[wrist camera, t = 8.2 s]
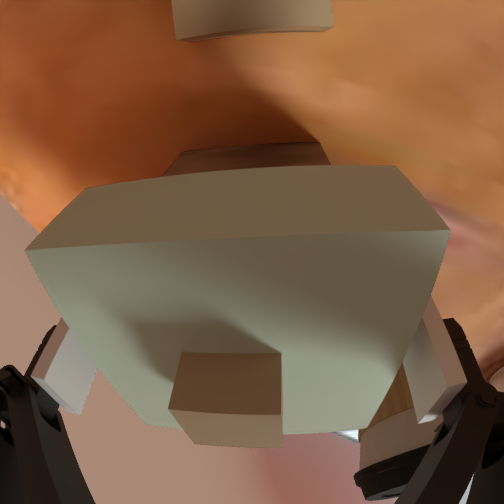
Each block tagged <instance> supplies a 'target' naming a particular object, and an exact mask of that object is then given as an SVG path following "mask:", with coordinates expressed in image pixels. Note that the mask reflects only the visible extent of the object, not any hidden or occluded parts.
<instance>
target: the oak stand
mask: <svg viewBox="0 0 504 504" xmlns="http://www.w3.org/2000/svg"><path fill="white" fill-rule="evenodd" d="M171 6H172V14H173V23H174V31H175V38H176V40H180V41H187V42H196V41H202V40H208V39H215V38H222V37H230V36H239V35H249V34H261V33H277V32H324V31H326V30H328V29H330V28H332V27H334V25H333V14H332V4H331V0H171Z"/></svg>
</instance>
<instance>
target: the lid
mask: <svg viewBox="0 0 504 504" xmlns="http://www.w3.org/2000/svg"><path fill="white" fill-rule="evenodd" d="M450 232H451V230H450V229H449V227H448V226H447V225H446V223H445V222H444V221H443V220H442V218H441V217H440V216H439V215H438V213H437V212H436V211H435V210H434V209H433V207H432V206H431V205H430V204H429V203H428V201H427V200H426V199H425V198H424V197H423V196H422V194H421V193H420V192H419V191H418V190H417V189H416V188H415V186H414V185H413V184H412V183H411V182H410V181H409V180H408V179H407V178H406V177H405V175H404V174H403V173H402V172H401V171H400V170H399V169H398V168H397V167H396V166H390V165H313V166H285V167H265V168H249V169H235V170H223V171H211V172H201V173H191V174H182V175H173V176H164V177H156V178H149V179H141V180H134V181H127V182H121V183H114V184H108V185H102V186H96V187H90V188H86V189H85V190H84V191H82V192H81V193H80V194H79V195H78V196H77V197H76V198H75V199H74V200H73V201H72V202H71V203H70V204H69V205H68V206H66V207H65V208H64V209H63V210H62V211H61V212H60V213H59V214H58V215H57V216H56V217H55V218H54V219H53V220H52V221H51V222H50V223H49V224H48V225H47V226H46V228H45V229H44V230H43V231H42V232H41V233H40V234H39V235H38V236H37V237H36V238H35V239H34V240H33V241H32V243H31V244H30V245H29V246H28V247H27V248H26V249H25V252H26V254H27V256H28V258H29V260H30V262H31V264H32V266H33V268H34V270H35V272H36V274H37V275H38V277H39V279H40V281H41V283H42V284H43V286H44V288H45V290H46V291H47V293H48V295H49V297H50V298H51V300H52V301H53V303H54V305H55V307H56V308H57V310H58V311H59V313H60V315H61V316H62V318H63V319H64V321H65V322H66V324H67V325H68V327H69V328H70V330H71V331H72V333H73V334H74V336H75V337H76V339H77V340H78V342H79V343H80V344H81V346H82V347H83V349H84V350H85V351H86V353H87V354H88V356H89V357H90V358H91V360H92V361H93V362H94V364H95V365H96V366H97V368H98V369H99V370H100V371H101V373H102V374H103V375H104V376H105V378H106V379H107V380H108V381H109V383H110V384H111V385H112V386H113V388H114V389H115V390H116V391H117V392H118V394H119V395H120V396H121V397H122V398H123V399H124V400H125V402H126V403H127V404H128V405H129V406H130V407H131V408H132V410H133V411H134V412H135V413H136V414H137V415H138V416H139V417H140V419H142V421H143V422H144V423H145V424H147V425H154V426H160V427H167V428H175V429H183V430H184V431H185V432H186V434H187V435H188V436H189V437H190V439H191V440H192V441H193V442H194V443H195V444H200V445H212V446H225V447H243V448H282V438H283V434H306V433H307V434H308V433H323V432H336V431H346V430H355V429H364V428H367V427H368V425H369V423H370V422H371V420H372V418H373V417H374V415H375V413H376V411H377V410H378V408H379V406H380V404H381V403H382V401H383V399H384V397H385V395H386V393H387V392H388V390H389V388H390V386H391V384H392V382H393V380H394V378H395V376H396V374H397V372H398V370H399V368H400V366H401V364H402V362H403V360H404V358H405V356H406V353H407V351H408V349H409V347H410V345H411V342H412V340H413V338H414V335H415V333H416V331H417V328H418V326H419V324H420V321H421V319H422V316H423V314H424V311H425V308H426V306H427V303H428V301H429V298H430V295H431V292H432V290H433V287H434V284H435V281H436V278H437V275H438V272H439V269H440V266H441V263H442V259H443V256H444V253H445V249H446V246H447V242H448V239H449V235H450Z"/></svg>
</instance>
